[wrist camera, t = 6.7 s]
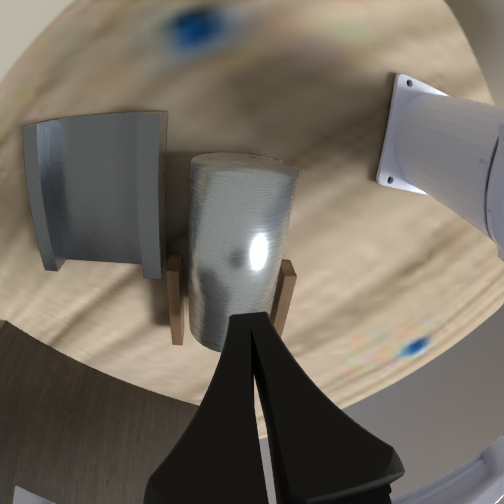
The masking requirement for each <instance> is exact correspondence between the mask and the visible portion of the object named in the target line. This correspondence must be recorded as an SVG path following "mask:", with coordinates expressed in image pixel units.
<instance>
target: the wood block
mask: <svg viewBox="0 0 504 504" xmlns="http://www.w3.org/2000/svg"><path fill="white" fill-rule="evenodd" d="M198 408H199V406H198V405H195V404H191V403H187V402H184V401H180V400H177V399H174V398H171V397H167V396H164V395H161V394H158V393H155V392H152V391H149V390H146V389H144V388H141V387H138V386H135V385H133V384H130V383H127V382H125V381H122V380H120V379H117V378H115V377H112V376H110V375H108V374H105V373H103V372H101V371H98V370H96V369H94V368H92V367H89V366H87V365H85V364H83V363H81V362H79V361H77V360H75V359H73V358H71V357H69V356H67V355H65V354H63V353H61V352H59V351H57V350H55V349H53V348H51V347H49V346H48V345H46V344H44V343H42V342H40V341H39V340H37V339H35V338H33V337H32V336H30V335H28V334H27V333H25V332H23V331H22V330H20V329H19V328H17V327H15V326H14V325H12V324H11V323H9V322H8V321H6V322H5V323H4V325H3V327H2V328H1V330H0V504H13V498H14V491H15V486H19V487H21V488H23V489H25V490H27V491H29V492H31V493H33V494H35V495H38V496H40V497H42V498H44V499H47V500H49V501H51V502H53V503H56V504H143V499H144V493H145V489H146V486H147V483H148V480H149V477H150V476H151V475H152V474H153V472H154V471H155V470H156V469H157V468H158V466H159V465H160V464H161V463H162V462H163V460H164V459H165V458H166V457H167V456H168V454H169V453H170V452H171V450H172V449H173V447H174V446H175V445H176V443H177V442H178V440H179V439H180V437H181V436H182V434H183V433H184V432H185V430H186V428H187V427H188V425H189V424H190V422H191V420H192V418H193V417H194V415H195V413H196V411H197V410H198Z"/></svg>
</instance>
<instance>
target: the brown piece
mask: <svg viewBox="0 0 504 504" xmlns="http://www.w3.org/2000/svg"><path fill="white" fill-rule="evenodd" d="M166 277H167V291H168V304H169V315H170V326H171V335H172V344H173V345H183V336H184V311H183V285H182V255H170V258H169V262H168V266H167V270H166ZM296 278H297V276H296V273H295V271H294V268H293V266H292V263H291V261H290V260H282V261H281V266H280V271H279V275H278V280H277V285H276V290H275V295H274V299H273V304H272V309H271V313H270V319H271V321H272V323H273V325H274V327H275V329H276V331H277V333H278V334H279V336H280V338H281V335H282V332H283V328H284V324H285V321H286V317H287V313H288V309H289V305H290V301H291V298H292V294H293V290H294V286H295V282H296Z"/></svg>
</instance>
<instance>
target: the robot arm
mask: <svg viewBox="0 0 504 504" xmlns="http://www.w3.org/2000/svg"><path fill="white" fill-rule="evenodd" d="M407 80H408V81H409V86H407ZM389 177H391V179H390V181H389V182H387V179H388V178H389ZM376 180H377V182H378V183H379V184H380V185H382V186H387V187H392V188H397V189H401V190H406V191H411V192H415V193H420V194H424V195H428V196H431V197H433V198H434V199H436V200H437V201H439V202H440V203H442V204H443V205H445V206H446V207H448V208H449V209H451V210H452V211H454V212H455V213H457V214H458V215H459V216H461V217H462V218H464V219H465V220H466V221H468V222H469V223H470V224H472V225H473V226H474V227H476V228H477V229H478V230H480V231H481V232H482V233H484V234H485V235H486V236H487V237H489V238H490V239H491V240H493V241H494V242H495V243H496V244H497V247H498V257H499V258H500V259H501V260H503V261H504V108H502V107H499V106H495V105H491V104H486V103H482V102H477V101H473V100H467V99H462V98H456V97H450V96H448V95H446V94H445V93H443V92H441V91H439V90H437V89H435V88H433V87H431V86H429V85H427V84H425V83H423V82H421V81H418V80H416V79H414V78H412V77H410V76H407V75H405V74H397V75H396V77H395V81H394V88H393V95H392V101H391V107H390V113H389V119H388V124H387V130H386V135H385V140H384V144H383V149H382V154H381V158H380V163H379V167H378V171H377V175H376ZM254 376H255V380H256V385H257V389H258V393H259V398H260V402H261V406H262V410H263V414H264V419H265V423H266V428H267V435H268V442H269V449H270V456H271V463H272V470H273V478H274V486H275V493H276V502H277V504H496V503H497V502H498V501H499V500H500V499H501V498H502V497H503V496H504V434H503V435H502V436H500V437H499V438H498V439H496V440H495V441H494V442H492V443H491V444H490V445H489V446H488V447H486V448H484V449H483V450H482V451H481V452H479V453H478V454H477V455H475V456H473V457H472V458H470V459H469V460H467V461H466V462H464V463H463V464H462V465H460V466H458V467H457V468H455V469H453V470H452V471H450V472H448V473H447V474H445V475H443V476H441V477H439V478H437V479H435V480H434V481H432V482H430V483H428V484H426V485H424V486H422V487H420V488H418V489H416V490H413V491H411V492H409V493H407V494H405V495H402V496H400V497H398V498H395V499H393V500H391V499H390V496H389V493H391V487H390V483H392V482H393V481H395V480H397V479H398V478H400V477H401V476H403V474H404V473H405V470H404V467H403V464H402V462H401V460H400V458H399V456H398V455H397V453H396V451H395V450H394V448H393V447H392V446H390V445H388V444H387V443H385V442H383V441H382V440H380V439H379V438H377V437H376V436H374V435H372V434H371V433H370V432H368V431H367V430H366V429H364V428H363V427H361V426H360V425H359V424H357V423H356V422H355V421H354V420H352V419H351V418H350V417H349V416H348V415H346V414H345V413H344V412H343V411H342V410H341V409H339V408H338V407H337V406H336V405H335V404H334V403H333V402H332V401H331V400H330V399H329V398H328V397H327V396H326V395H325V394H324V393H323V392H322V391H321V390H320V389H319V388H318V387H317V386H316V385H315V384H314V383H313V381H312V380H311V379H310V378H309V377H308V376H307V374H306V373H305V372H304V371H303V369H302V368H301V367H300V366H299V364H298V363H297V362H296V360H295V359H294V358H293V356H292V355H291V353H290V352H289V350H288V349H287V347H286V346H285V344H284V343H283V341H282V339H281V338H280V336H279V334H278V333H277V331H276V329H275V327H274V325H273V323H272V321H271V319H270V317H269V314H268V313H267V312H265V311H264V312H254V313H243V314H232V315H231V316H230V317H229V324H228V330H227V335H226V339H225V343H224V347H223V350H222V353H221V356H220V359H219V362H218V365H217V368H216V370H215V373H214V375H213V378H212V380H211V383H210V385H209V387H208V390H207V392H206V394H205V396H204V398H203V400H202V402H201V404H200V406H199V408H198V410H197V411H196V413H195V415H194V417H193V418H192V420H191V422H190V424H189V425H188V427H187V428H186V430H185V432H184V433H183V434H182V436H181V437H180V439H179V440H178V442H177V443H176V445H175V446H174V447H173V449H172V450H171V452H170V453H169V454H168V456H167V457H166V458H165V459H164V460H163V462H162V463H161V464H160V465H159V466H158V468H157V469H156V470H155V471H154V472H153V474H152V475H151V476H150V477H149V480H148V483H147V486H146V489H145V493H144V499H143V504H269V502H268V496H267V490H266V484H265V477H264V471H263V465H262V458H261V451H260V444H259V437H258V430H257V423H256V415H255V408H254ZM13 504H56V503H53V502H51V501H49V500H47V499H44V498H42V497H40V496H38V495H35V494H33V493H31V492H29V491H27V490H25V489H23V488H21V487H19V486H15V491H14V498H13Z"/></svg>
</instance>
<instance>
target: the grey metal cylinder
mask: <svg viewBox="0 0 504 504" xmlns="http://www.w3.org/2000/svg"><path fill="white" fill-rule="evenodd" d="M297 176H298V169H297V168H296V167H294V166H293V165H291V164H289V163H286V162H284V161H281V160H278V159H274V158H270V157H266V156H260V155H254V154H243V153H231V152H216V153H206V154H201V155H197V156H195V157H193V158H192V160H191V177H190V201H189V242H188V284H189V325H190V330H191V333H192V334H193V336H194V337H195V339H196V340H197V341H198V342H199V343H201V344H202V345H203V346H205V347H207V348H209V349H211V350H214V351H217V352H222V350H223V347H224V343H225V339H226V335H227V330H228V324H229V317H230V316H231V315H232V314H243V313H254V312H264V311H265V312H267V313H268V314H269V317H270V313H271V309H272V304H273V299H274V295H275V290H276V285H277V280H278V275H279V271H280V266H281V261H282V256H283V251H284V246H285V240H286V235H287V230H288V225H289V220H290V214H291V209H292V203H293V198H294V193H295V187H296V181H297Z"/></svg>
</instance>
